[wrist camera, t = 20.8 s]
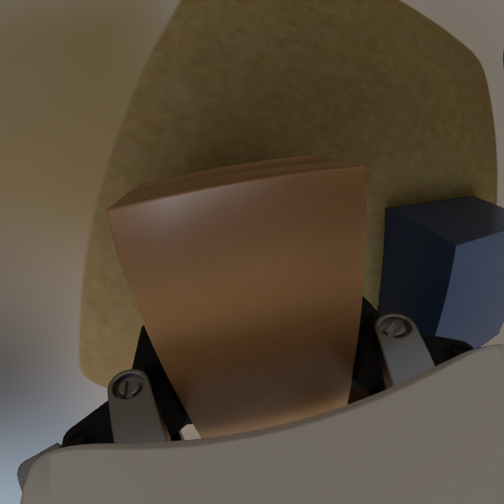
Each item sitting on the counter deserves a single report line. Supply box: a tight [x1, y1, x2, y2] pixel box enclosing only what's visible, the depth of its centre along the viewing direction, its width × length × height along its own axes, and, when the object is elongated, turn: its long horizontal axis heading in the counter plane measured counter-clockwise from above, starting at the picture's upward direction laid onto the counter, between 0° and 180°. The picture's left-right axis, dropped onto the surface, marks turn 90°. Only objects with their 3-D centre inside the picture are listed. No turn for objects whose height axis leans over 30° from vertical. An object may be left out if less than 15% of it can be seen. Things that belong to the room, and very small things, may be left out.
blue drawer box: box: [378, 196, 504, 349], centre depth 22 cm, size 15×14×9 cm
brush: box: [106, 155, 366, 439], centre depth 9 cm, size 11×5×5 cm, turn 8°
